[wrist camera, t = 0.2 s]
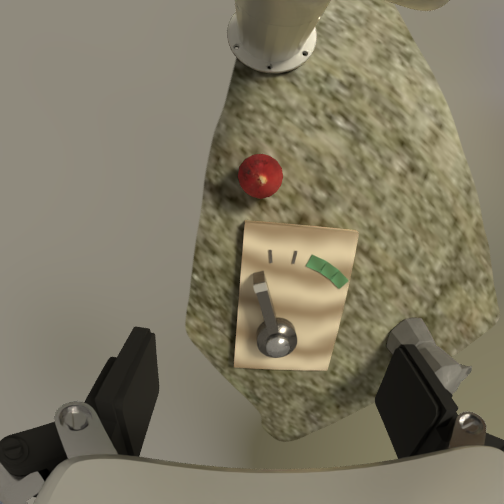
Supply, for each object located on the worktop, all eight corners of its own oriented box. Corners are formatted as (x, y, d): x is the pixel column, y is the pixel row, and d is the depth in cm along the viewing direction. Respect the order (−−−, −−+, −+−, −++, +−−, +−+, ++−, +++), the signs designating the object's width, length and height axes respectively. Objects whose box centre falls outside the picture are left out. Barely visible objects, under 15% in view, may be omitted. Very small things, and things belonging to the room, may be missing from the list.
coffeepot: (434, 304, 52) (485, 359, 35) (435, 341, 55) (478, 397, 38) (362, 334, 54) (397, 404, 37) (368, 370, 56) (398, 437, 40)
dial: (298, 344, 52) (302, 359, 48) (262, 352, 52) (262, 368, 48) (279, 266, 47) (281, 277, 43) (237, 277, 47) (236, 289, 44)
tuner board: (244, 220, 46) (244, 223, 45) (355, 230, 47) (359, 233, 45) (234, 361, 55) (233, 367, 53) (325, 365, 56) (327, 370, 54)
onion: (231, 178, 44) (227, 186, 37) (254, 145, 43) (255, 145, 35) (264, 201, 46) (267, 213, 38) (287, 168, 44) (295, 173, 36)
